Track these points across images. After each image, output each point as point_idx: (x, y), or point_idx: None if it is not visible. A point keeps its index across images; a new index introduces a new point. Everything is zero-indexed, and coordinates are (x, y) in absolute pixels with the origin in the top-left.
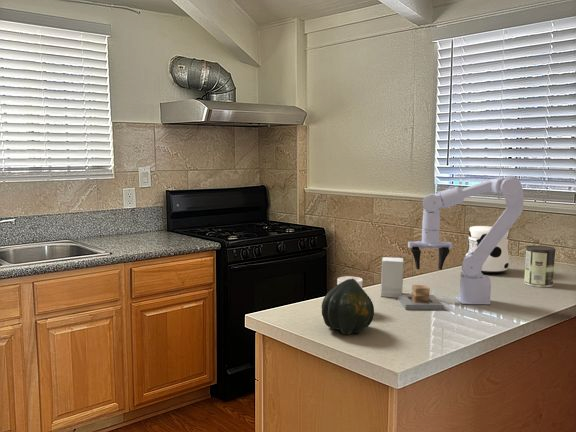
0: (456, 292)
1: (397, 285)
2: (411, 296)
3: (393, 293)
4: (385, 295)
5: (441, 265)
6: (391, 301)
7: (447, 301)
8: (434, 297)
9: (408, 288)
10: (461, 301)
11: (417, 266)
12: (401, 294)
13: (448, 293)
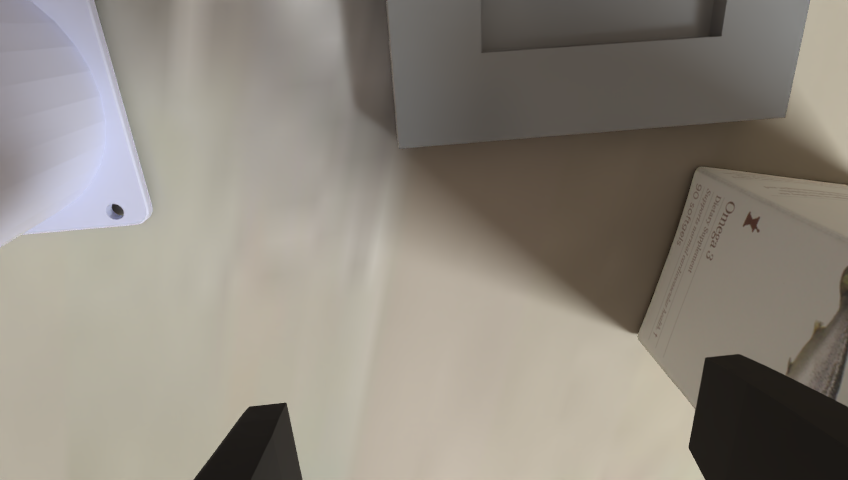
0: (135, 412)
1: (834, 210)
2: (666, 54)
3: (797, 182)
4: (844, 186)
5: (237, 460)
6: (842, 22)
7: (251, 81)
8: (408, 30)
9: (538, 463)
10: (81, 9)
11: (795, 384)
12: (719, 174)
13: (214, 372)
